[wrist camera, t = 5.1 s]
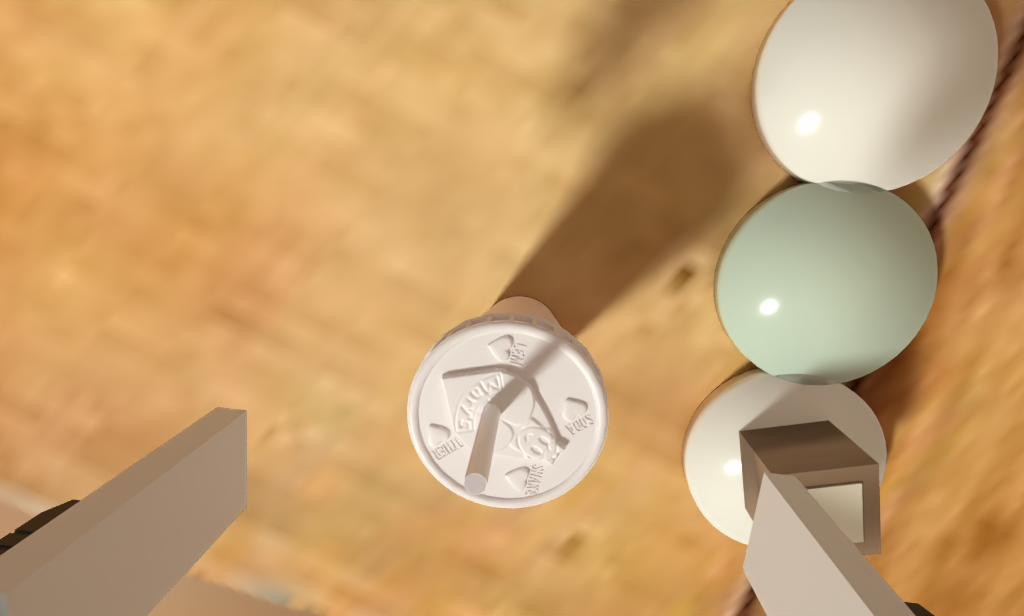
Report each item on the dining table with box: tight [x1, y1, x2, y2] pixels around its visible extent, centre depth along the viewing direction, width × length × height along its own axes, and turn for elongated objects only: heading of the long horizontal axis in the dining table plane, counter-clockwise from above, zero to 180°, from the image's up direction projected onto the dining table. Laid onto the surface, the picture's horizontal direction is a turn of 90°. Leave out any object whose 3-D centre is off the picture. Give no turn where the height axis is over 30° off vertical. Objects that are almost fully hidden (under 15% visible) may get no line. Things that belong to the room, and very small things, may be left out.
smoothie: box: [407, 296, 608, 508], centre depth 20 cm, size 6×6×14 cm
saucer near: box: [751, 0, 998, 193], centre depth 23 cm, size 9×9×1 cm
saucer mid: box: [714, 180, 938, 385], centre depth 25 cm, size 9×9×1 cm
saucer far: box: [682, 368, 887, 545], centre depth 27 cm, size 9×9×1 cm
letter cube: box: [739, 420, 881, 555], centre depth 24 cm, size 4×4×4 cm
